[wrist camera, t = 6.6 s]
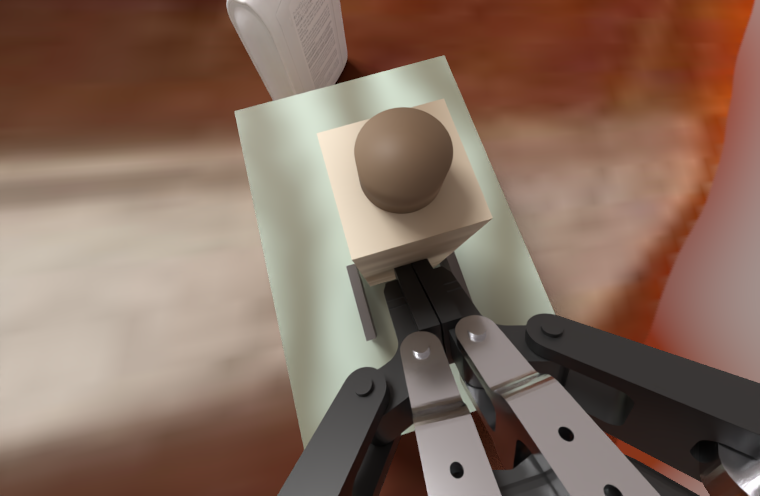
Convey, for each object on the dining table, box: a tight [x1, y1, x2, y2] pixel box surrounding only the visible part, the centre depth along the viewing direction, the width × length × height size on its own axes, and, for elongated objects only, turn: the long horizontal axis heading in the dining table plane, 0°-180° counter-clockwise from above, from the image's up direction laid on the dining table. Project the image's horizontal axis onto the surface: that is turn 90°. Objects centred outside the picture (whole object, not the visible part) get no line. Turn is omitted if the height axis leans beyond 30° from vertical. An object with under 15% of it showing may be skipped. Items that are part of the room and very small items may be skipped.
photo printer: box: [227, 0, 347, 101], centre depth 24 cm, size 10×4×12 cm, turn 155°
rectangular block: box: [234, 56, 555, 450], centre depth 20 cm, size 16×23×10 cm
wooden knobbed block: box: [317, 99, 493, 287], centre depth 12 cm, size 4×4×10 cm
